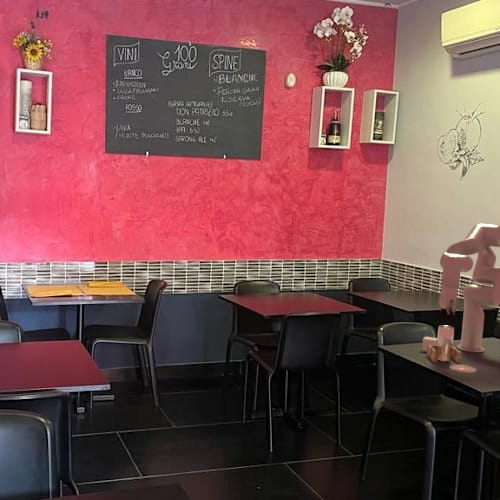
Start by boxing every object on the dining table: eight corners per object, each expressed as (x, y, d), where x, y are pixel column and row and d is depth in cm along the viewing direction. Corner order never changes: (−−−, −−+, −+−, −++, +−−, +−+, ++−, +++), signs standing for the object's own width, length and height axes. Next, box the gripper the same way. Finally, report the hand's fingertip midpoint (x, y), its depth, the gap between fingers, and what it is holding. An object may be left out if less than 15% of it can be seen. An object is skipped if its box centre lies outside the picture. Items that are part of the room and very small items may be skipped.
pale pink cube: (434, 353, 319) (435, 340, 318) (421, 351, 321) (422, 338, 321) (437, 350, 324) (438, 338, 324) (424, 348, 327) (425, 336, 326)
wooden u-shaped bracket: (427, 355, 313) (428, 345, 312) (452, 357, 313) (453, 346, 312) (434, 362, 301) (435, 351, 300) (460, 364, 301) (461, 352, 301)
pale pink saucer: (446, 365, 297) (446, 363, 297) (471, 366, 297) (471, 365, 297) (453, 372, 286) (453, 370, 286) (479, 373, 286) (480, 372, 286)
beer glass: (452, 362, 303) (455, 329, 301) (435, 360, 304) (438, 327, 303) (450, 358, 310) (453, 326, 308) (434, 357, 311) (437, 324, 309)
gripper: (436, 280, 312) (432, 317, 313) (447, 285, 295) (443, 324, 296) (452, 281, 312) (449, 318, 313) (464, 286, 295) (460, 325, 296)
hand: (446, 321), depth 305 cm, fingers open, 9 cm apart
